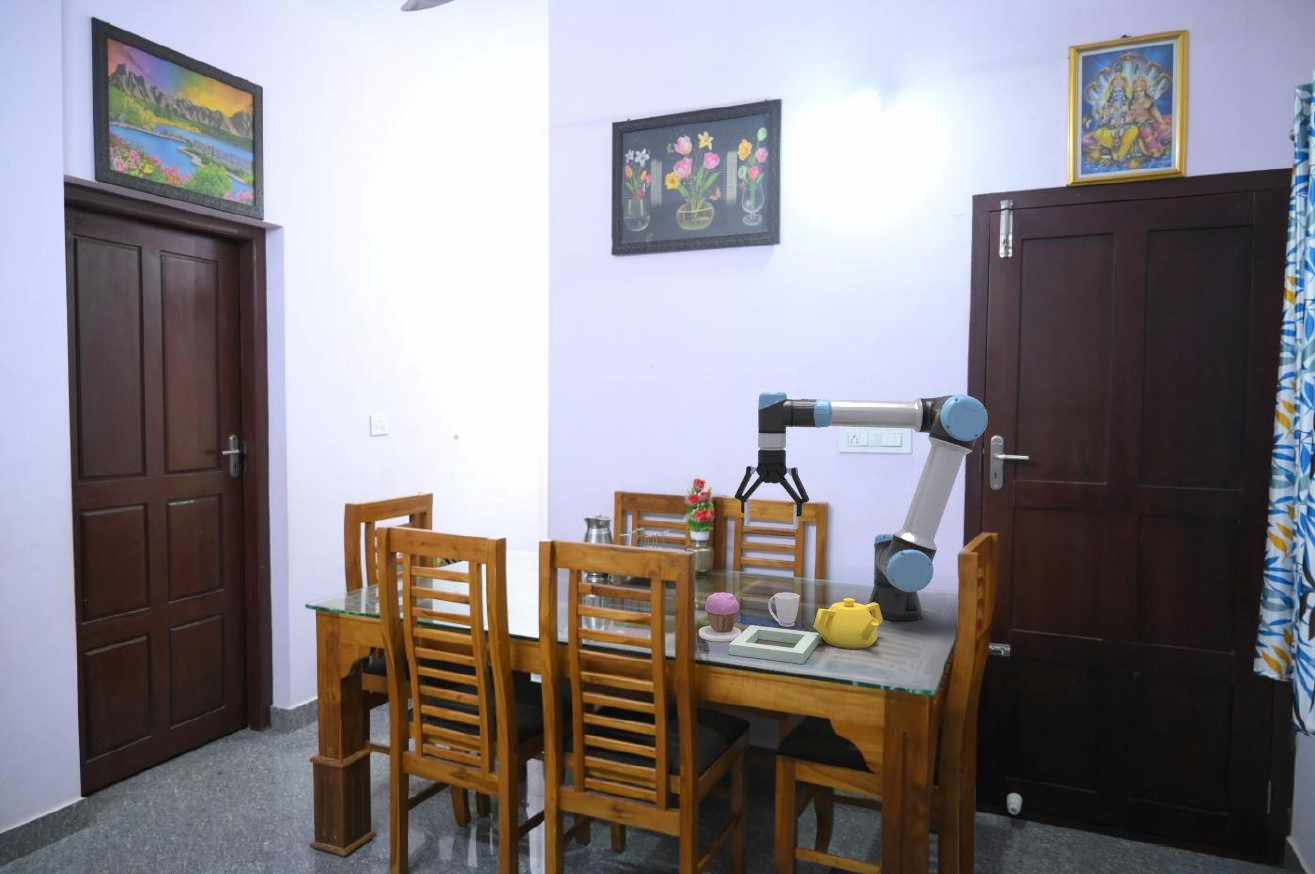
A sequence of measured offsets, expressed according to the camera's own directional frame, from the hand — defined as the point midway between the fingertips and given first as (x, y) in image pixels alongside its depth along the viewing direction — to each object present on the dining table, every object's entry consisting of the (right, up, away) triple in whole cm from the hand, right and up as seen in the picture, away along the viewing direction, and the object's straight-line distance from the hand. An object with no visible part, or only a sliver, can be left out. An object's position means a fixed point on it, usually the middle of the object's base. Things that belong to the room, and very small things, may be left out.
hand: (771, 526), depth 223 cm
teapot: (+18, -28, -16) cm, 37 cm away
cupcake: (-14, -26, -10) cm, 31 cm away
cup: (+3, -27, +2) cm, 27 cm away
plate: (-15, -27, -10) cm, 32 cm away
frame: (-2, -28, -21) cm, 35 cm away
